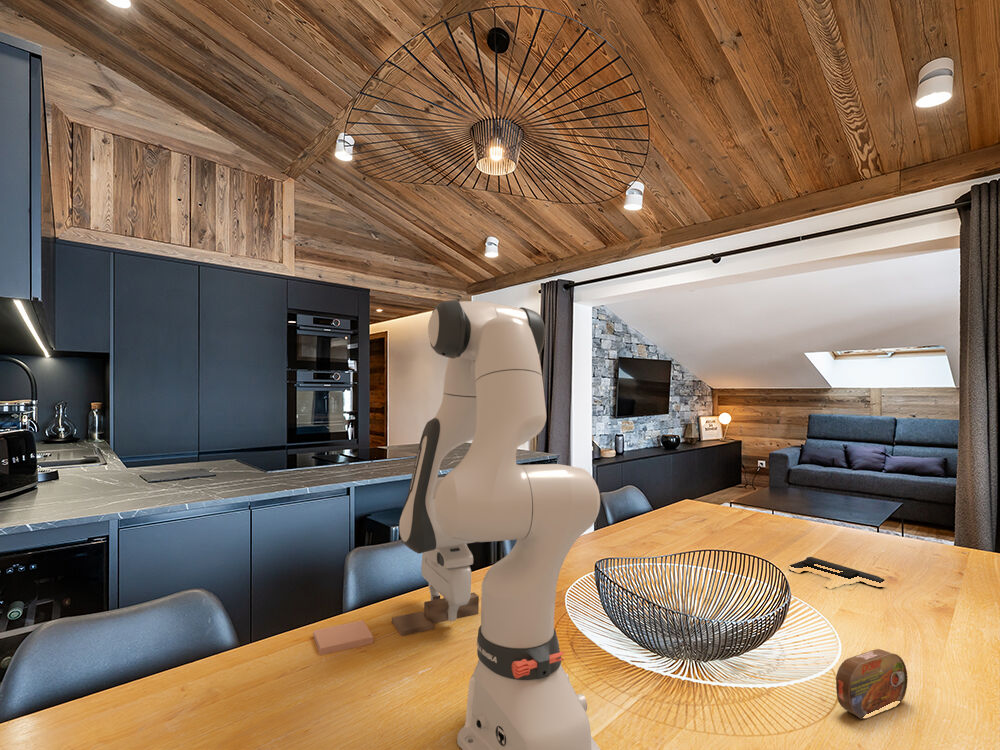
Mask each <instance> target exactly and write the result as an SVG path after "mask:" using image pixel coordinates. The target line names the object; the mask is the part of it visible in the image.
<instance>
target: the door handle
mask: <svg viewBox="0 0 1000 750" xmlns="http://www.w3.org/2000/svg"><path fill="white" fill-rule="evenodd" d="M814 564H818V565H821V566H825V567H828V568H832V569H835V570H839V571H843V572H840V573H837V572H833V571H830V570H827V569H823V568H820V567H817V566H814ZM789 566H791V567H794V568H803V567H807V566H808V567H811V568H814V569H817V570H821V571H824V572H828V573H831V574H835V575H838V576H841V577H844V578H848V579H851V578H854V577H857V576H859V577H862V578H866V579H869V580H872V581H876V582H879V583H881V582H883V581H886V580H885V579H884V578H882V577H880V576H878V575H875V574H871V573H868V572H864V571H862V570H858V569H854V568H850V567H847V566H843V565H841V564H836V563H835V562H834V563H833V562H830V561H827V560H824V559H821V558H816V557H812V556H807V557H806V558H805V559H803V560H801V561H800V560H799V561H798V562H795V563H792V564H789Z"/></svg>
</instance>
